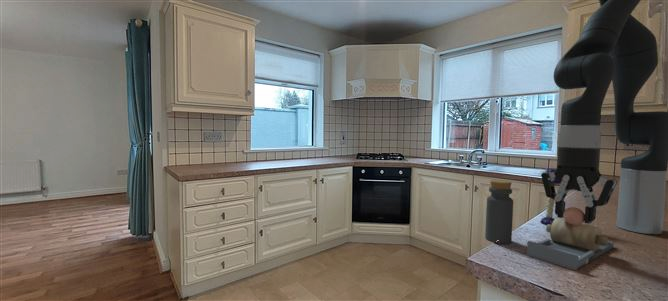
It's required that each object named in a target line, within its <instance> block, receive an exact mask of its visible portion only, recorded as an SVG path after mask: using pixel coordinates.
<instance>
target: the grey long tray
mask: <svg viewBox="0 0 668 301" xmlns="http://www.w3.org/2000/svg"><path fill="white" fill-rule="evenodd" d="M614 244H615V243H614V242H610V241H608V243H607V246H602V245H600V247H599V249H598V250H597V251H595V252H594V251H592V250H590V251H589V250H585V249H581V248H577V247H574V246H570V245H566V244H562V243H558V242H555V241H552V239H551V238H550V239H549V238H545V239H542V240H540V241H539V242H534V241H531V240H528V241H527V244H526V245H527V246H526V256H528V257H532V258H534V259H537V260H538V259H539V260H541V261H545V262H547V263H551V264H553V265H554V264H555V265H556V266H560V267H563V268H567V269H570V270H573V271H578V270H579V269H581V268H582V267H584V266H586V265H587V264H589V263H590V262H592V261H593V260H595V259H597V258H598V257H600V256H601V255H603V254H605V253H606V252H608V251H610V250H611V249H612V248H614Z"/></svg>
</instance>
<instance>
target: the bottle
mask: <svg viewBox="0 0 668 301" xmlns="http://www.w3.org/2000/svg"><path fill="white" fill-rule="evenodd" d="M489 182H490V187H488V192H490V195H488V196H487V198H486V210H485V211H486V212H485V231H484V232H485V240H486V241H488V242H491V243H494V242H495V243H494V244H497V243H498V244H499V245H508V244H509V245H510V244H511V243H512V238H513V237H512V236H513V221H514V220H513V219H514V200H513V198H511V196H510V195H511V194H513V189H512V188H511V186H512V181H509V180H502V179H491V180H490V181H489ZM497 240H499V241H497ZM496 241H497V242H496Z"/></svg>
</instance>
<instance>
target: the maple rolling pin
mask: <svg viewBox="0 0 668 301" xmlns="http://www.w3.org/2000/svg"><path fill="white" fill-rule="evenodd" d="M554 219H555V220H554V221H553V223H552V225H551V224H548V225H546V228H545V230H546V233H549V235H550V240H552V241H555V242H558V243H562V244H566V245H570V246H574V247H577V248H581V249H585V250H589V251H590V250H592V251H594V252H595V251H597V250H598V249H599V247H600V245H602V246H607V243H608V242H609V240H608V239H609V238H608V237H607V236H603V235H602V229H601V227H600V226H598V227H596V226H597V225H595V226H591V225H592V224H590V225H587V224H588V223H585V224H580V225H572V224H569V223H568V222H566V221H565V219H564V218H558V217H557V218H554Z"/></svg>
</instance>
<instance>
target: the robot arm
mask: <svg viewBox="0 0 668 301" xmlns="http://www.w3.org/2000/svg"><path fill="white" fill-rule="evenodd" d="M598 1H599V6H600V7H599V8H597V10H595V11H594V12H593V14H591V16H590V17H589V18H588V20H587V21H586V23H585V24H584V26H583V28H582V31H581V33H580V35H579V37H578V39H577V41H576V42H575V43H574V44H573V45H572V46H570V48H569V49H568V50H567V51H566V53H564V55H563V56H562V57H561V58H560V59H559V61H558V62H557V64H556V66H555V68H554V71H553V81H554V84H555V85H556V86H557V88H560V89H563V90H577V89H584V91H583V93H582V94H581V95H579V96H577V97H574V98H570V99H568V100H565V101H564V102H563V103H562V104H561V112H560V125H559V127H560V128H559V131H558V136H557V139H558V140H557V155H556V156H557V157H556V168H555V169H556V170H555V171H554V172H551V173H549V172H546V171H545V172H543V173H541V175H540V177H541V181H542V183H543V187H544V188H543V189H544V191H545V192H544V193H545V196H546V198H547V199H548V198H552V199H554V213H555V215H556V216H557V218H558V219H564V217H563V213H564V211H565V210H566V201H565V199H566V196H567V195H568V193H569V192H570V191H572V190H575V191H578V192H581V195H582V197H583V198H584V201H585V204H586V206H584V207H585V208H584V209H585V210H584V214H585V221H584V222H583V223H585V224H591V223H592V222H594V221H596V214H597V207H603V206H606V205H608V203H609V201H610V200H611V197H612V194H613V192H614V190H615V188H616V186H617V184H618V180H617V179H615V178H608V177H605V176H602V173H600V159H601V158H600V157H601V143H602V142H601V141H602V133H601V120H602V119H601V118H602V107H603V104H604V101H605V97H606V95H607V92H608V90H609V87H610V85H611V84H612V90H613V98H614V122H615V123H614V126H615V127H614V128H615V134H616V138H617V140H618V141H619V143H621V144H624V145H635V146H637V145H638V146H641V145H642V146H649V147H648V149H647V150H645V151H644V152H642V153H640V154H635V155H632V156H627V157H623V158H622V159H621V160H620V169H619V170H620V171H619V186H618V201H617V204H618V205H617V216H616V227H617V228H620V229H622V230H625V231H629V232H633V233H634V232H635V233H640V234H645V235H646V234H648V235H662V233H663V226H664V217H665V216H664V215H665V202H666V191H667V190H666V188H667V177H668V176H667V175H668V111H665V110H664V111H662V110H661V111H659V110H658V111H636V112H635V109H634V103H635V100H636V97H637V96H638V94H639V92H640V90H642V88H643V86H645V83H647V81H648V80H649V79H650V77H651V76H652V75H653V73H654V72H655V71H656V68H657V67H658V63H659V55H658V45H657V44H658V43H657V38H656V36H655V34H654V33H653V32H652V31H651V30H650V29H649V28H648V27H646V25H644V24H643V23H642V22H641V21H640V20H638V19H637V18H636V17H634V16H633V15H632V13H633V11H634V10H635V8H636V7H637V6H638V4H640V2H641V1H642V0H598ZM555 176H556V178H557V179H558V181H559V182H560V184H559V186H558V188H557V192H556V187H555V188H554V184H553V181H554V177H555ZM599 182H600V187H601V188H602V190H601V193H600V194H599V196H598V199H597V198H596V196H595V195H596V193H595V190H594V186H595V185H596V184H597V183H599Z"/></svg>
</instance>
